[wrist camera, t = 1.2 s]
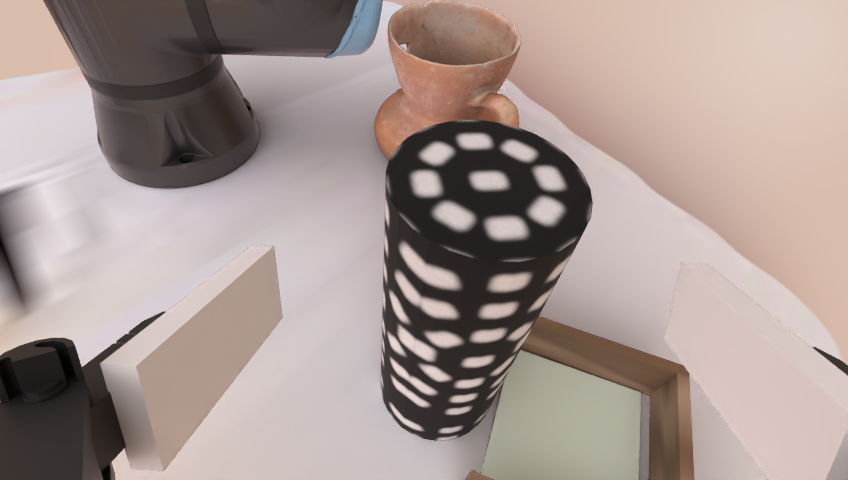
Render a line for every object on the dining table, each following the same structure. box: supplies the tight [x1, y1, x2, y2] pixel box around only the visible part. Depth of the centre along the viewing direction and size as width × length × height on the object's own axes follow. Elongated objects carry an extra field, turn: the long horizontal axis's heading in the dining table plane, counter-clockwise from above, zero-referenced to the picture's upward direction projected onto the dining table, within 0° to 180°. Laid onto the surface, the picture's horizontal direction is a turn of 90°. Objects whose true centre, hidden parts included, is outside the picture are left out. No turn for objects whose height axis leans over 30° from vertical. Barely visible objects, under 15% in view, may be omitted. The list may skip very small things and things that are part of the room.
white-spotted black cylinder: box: [381, 120, 593, 440], centre depth 25 cm, size 8×8×20 cm
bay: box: [466, 316, 694, 480], centre depth 30 cm, size 13×13×4 cm
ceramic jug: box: [374, 0, 521, 160], centre depth 45 cm, size 18×14×14 cm
